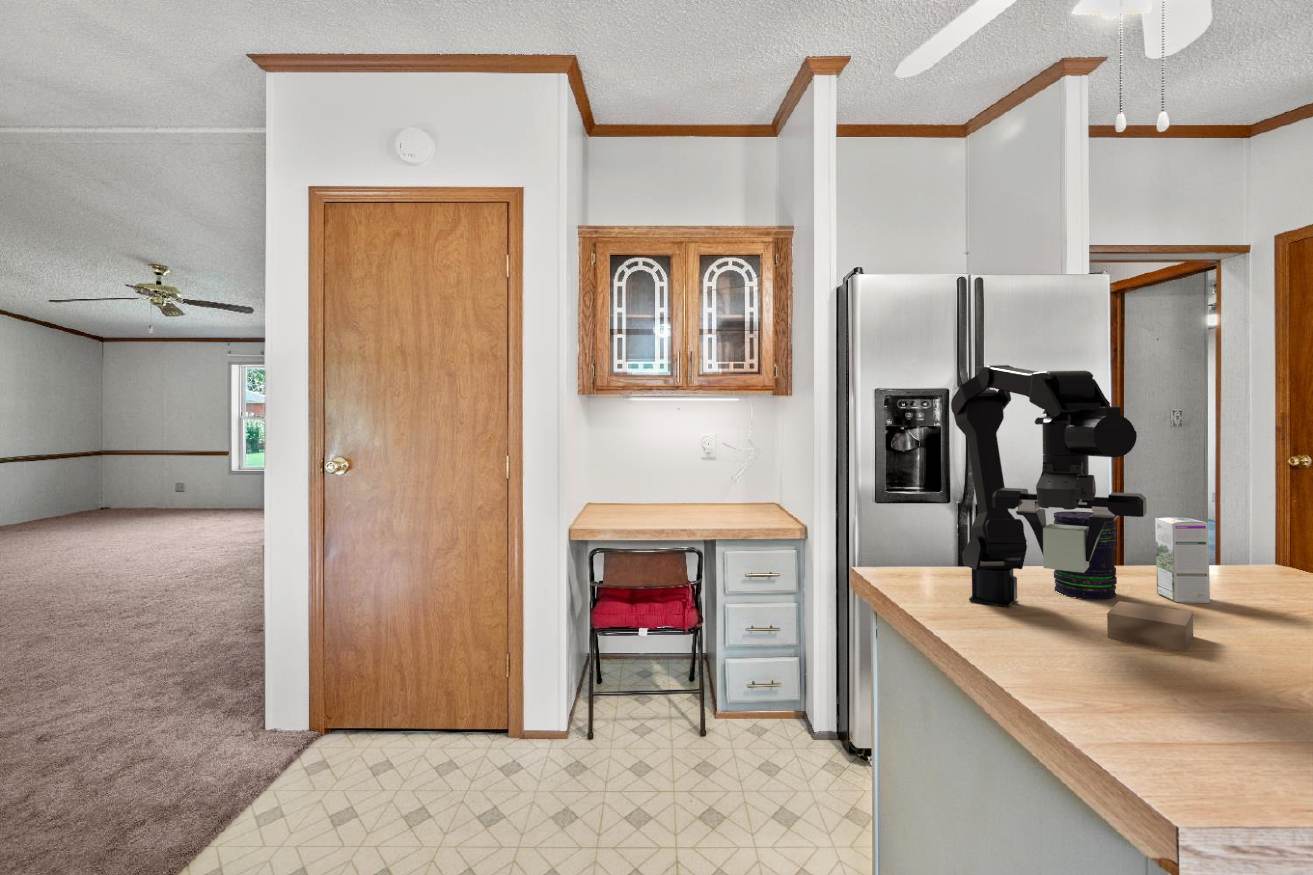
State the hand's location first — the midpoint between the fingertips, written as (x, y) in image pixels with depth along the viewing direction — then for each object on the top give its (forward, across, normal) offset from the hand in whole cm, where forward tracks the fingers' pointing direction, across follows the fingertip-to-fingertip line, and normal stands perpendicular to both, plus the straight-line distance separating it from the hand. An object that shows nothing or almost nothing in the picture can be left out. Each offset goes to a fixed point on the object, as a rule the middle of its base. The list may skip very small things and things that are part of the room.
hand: (1066, 558), depth 93 cm
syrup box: (+12, +12, +38) cm, 41 cm away
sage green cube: (+1, 0, 0) cm, 1 cm away
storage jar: (+12, -2, +31) cm, 34 cm away
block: (+12, +9, +8) cm, 18 cm away
